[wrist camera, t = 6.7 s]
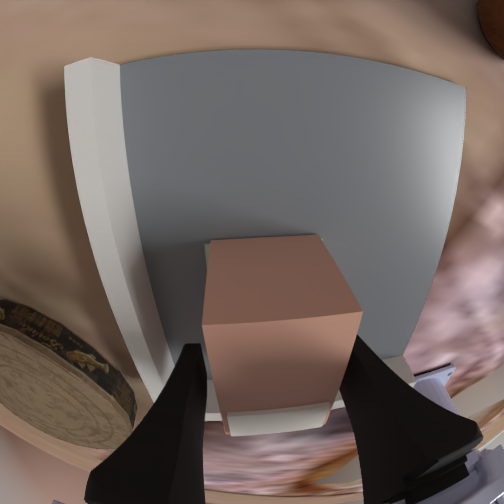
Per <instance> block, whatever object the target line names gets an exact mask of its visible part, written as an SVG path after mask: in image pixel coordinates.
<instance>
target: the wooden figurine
mask: <svg viewBox="0 0 504 504" xmlns="http://www.w3.org/2000/svg"><path fill="white" fill-rule="evenodd" d="M478 12H479V20H480V24H481V28H482V31H483V33H484V35H485V36H486V38H487V40H488V42H489V43H490V45H491V46H492V47H493V49H494V50H495V51H496V53H497V54H498V55H499V56H500V57H501V58H502V59H503V60H504V0H479V1H478Z"/></svg>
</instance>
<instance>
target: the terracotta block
mask: <svg viewBox="0 0 504 504" xmlns="http://www.w3.org/2000/svg"><path fill="white" fill-rule="evenodd" d="M362 314H363V310H362V308H361V306H360V305H359V303H358V301H357V299H356V298H355V296H354V294H353V292H352V290H351V289H350V287H349V285H348V283H347V282H346V280H345V278H344V276H343V275H342V273H341V271H340V270H339V268H338V266H337V265H336V263H335V261H334V259H333V258H332V256H331V254H330V253H329V251H328V249H327V248H326V246H325V245H324V243H323V241H322V240H321V238H320V236H319V235H299V236H279V237H259V238H241V239H223V240H211V242H210V250H209V259H208V268H207V277H206V287H205V296H204V307H203V317H202V329H203V334H204V339H205V344H206V349H207V354H208V359H209V364H210V369H211V374H212V378H213V383H214V387H215V392H216V396H217V401H218V405H219V409H220V413H221V417H222V422H223V426H224V430H225V434H226V435H227V434H231V436H249V435H263V434H274V433H283V432H291V431H299V430H306V429H312V428H318V427H322V425H324V424H326V422H327V419H328V417H329V414H330V412H331V409H332V407H333V404H334V401H335V399H336V396H337V393H338V391H339V388H340V385H341V382H342V379H343V376H344V373H345V370H346V367H347V364H348V361H349V358H350V355H351V352H352V349H353V345H354V342H355V339H356V335H357V332H358V328H359V325H360V321H361V318H362Z"/></svg>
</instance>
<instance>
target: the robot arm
mask: <svg viewBox="0 0 504 504" xmlns="http://www.w3.org/2000/svg"><path fill="white" fill-rule="evenodd" d="M455 369H456V366H455V365H454V364H452V365H449V366H447V367H444V368H441V369H438V370H435V371H432V372H429V373H425V374H422V375H419V376H416V377H415V379H416V381H417V382H416V384H415V385H414V387H411V386H410V385H409V384H407V383H406V382H405V381H404V380H403V379H401V378H400V377H399V376H398V375H397V374H396V373H395V372H394V371H393V370H392V369H390V368H389V367H388V366H387V365H386V364H385V363H384V362H383V361H382V360H381V359H380V358H379V357H378V356H377V355H376V354H375V353H374V351H373V350H372V349H371V348H370V347H369V346H368V345H367V344H366V343H365V342H364V341H363V340H362V339H361V338H360V336H359V335H358V334H357V335H356V339H355V342H354V345H353V349H352V352H351V355H350V358H349V361H348V364H347V367H346V370H345V373H344V376H343V379H342V382H341V385H340V388H339V391H340V393H341V396H342V399H343V402H344V405H345V407H346V410H347V413H348V416H349V419H350V421H351V424H352V428H353V431H354V435H355V440H356V445H357V450H358V455H359V461H360V467H361V475H362V484H363V496H364V504H504V449H503V447H502V445H499V446H498V447H496V448H495V449H494V450H487V449H484V450H482V451H481V452H480V451H479V450H476V449H475V447H476V446H477V445H478V444H479V443H480V442H481V441H482V439H483V435H482V433H481V431H480V429H479V427H478V425H477V423H476V422H475V421H473V420H470V419H467V418H465V417H462V416H460V415H459V413H458V411H457V409H456V408H455V406H454V404H453V402H452V400H451V398H450V396H449V394H448V393H447V391H446V389H445V387H444V385H445V384H446V382H447V381H448V379H449V378H450V377H451V375H452V374H453V372H454V371H455ZM206 403H207V371H206V366H205V362H204V357H203V353H202V348H201V343H186V344H185V345H184V346H183V348H182V351H181V353H180V356H179V358H178V360H177V362H176V365H175V367H174V369H173V371H172V373H171V375H170V377H169V378H168V380H167V382H166V384H165V386H164V388H163V389H162V391H161V393H160V394H159V396H158V398H157V399H156V401H155V403H154V404H153V406H152V407H151V409H150V410H149V411H148V413H147V414H146V416H145V417H144V418H143V420H142V421H141V422H140V424H139V425H138V426H137V427H136V428H135V430H134V431H133V432H132V433H131V434H130V436H129V437H128V438H127V439H126V440H125V441H124V442H123V443H122V444H121V445H120V446H119V447H118V448H117V449H116V450H115V451H114V452H113V453H112V454H111V455H110V456H109V457H108V458H107V459H105V460H104V461H103V462H102V463H100V464H99V465H98V466H97V467H96V468H94V469H93V470H92V471H91V472H90V475H89V478H88V481H87V485H86V491H85V497H84V500H85V502H86V503H88V504H205V493H204V477H203V433H204V423H205V413H206ZM52 504H64V503H61V502H59V501H56V500H53V503H52Z"/></svg>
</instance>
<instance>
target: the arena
mask: <svg viewBox="0 0 504 504" xmlns="http://www.w3.org/2000/svg"><path fill="white" fill-rule="evenodd" d="M64 76H65V99H66V113H67V123H68V133H69V141H70V148H71V155H72V162H73V168H74V174H75V179H76V184H77V190H78V195H79V199H80V204H81V208H82V213H83V217H84V221H85V225H86V229H87V233H88V237H89V240H90V244H91V248H92V251H93V255H94V258H95V261H96V264H97V268H98V271H99V274H100V277H101V280H102V283H103V286H104V289H105V292H106V295H107V298H108V300H109V303H110V306H111V309H112V311H113V314H114V316H115V319H116V322H117V324H118V327H119V329H120V331H121V334H122V336H123V339H124V341H125V343H126V346H127V348H128V350H129V353H130V355H131V357H132V359H133V361H134V364H135V366H136V368H137V370H138V372H139V374H140V376H141V378H142V380H143V382H144V384H145V386H146V388H147V390H148V392H149V394H150V396H151V398H152V400H153V402H154V403H155V401H156V399H157V398H158V396H159V394H160V393H161V391H162V389H163V388H164V386H165V384H166V382H167V380H168V378H169V377H170V375H171V373H172V371H173V369H174V367H175V365H176V362H177V360H178V358H179V356H180V353H181V351H182V348H183V346H184V345H185V344H186V343H201V348H202V353H203V357H204V362H205V366H206V371H207V403H206V413H205V421H222V417H221V413H220V409H219V405H218V401H217V396H216V392H215V387H214V383H213V378H212V374H211V369H210V364H209V359H208V354H207V349H206V344H205V339H204V334H203V329H202V317H203V307H204V296H205V287H206V277H207V268H208V259H209V250H210V242H211V240H223V239H241V238H259V237H279V236H299V235H319V236H320V238H321V240H322V241H323V243H324V245H325V246H326V248H327V249H328V251H329V253H330V254H331V256H332V258H333V259H334V261H335V263H336V265H337V266H338V268H339V270H340V271H341V273H342V275H343V276H344V278H345V280H346V282H347V283H348V285H349V287H350V289H351V290H352V292H353V294H354V296H355V298H356V299H357V301H358V303H359V305H360V306H361V308H362V310H363V314H362V318H361V321H360V325H359V328H358V332H357V334H358V335H359V336H360V338H361V339H362V340H363V341H364V342H365V343H366V344H367V345H368V346H369V347H370V348H371V349H372V350H373V351H374V353H375V354H376V355H377V356H378V357H379V358H380V359H381V360H382V361H383V362H384V363H385V364H386V365H387V366H388V367H389V368H390V369H392V370H393V371H394V372H395V373H396V374H397V375H398V376H399V377H400V378H401V379H403V380H404V381H405V382H406V383H407V384H409V385H410V386H411V387H414V385H415V384H416V382H417V381H416V379H415V377H414V375H413V373H412V371H411V369H410V367H409V366H408V364H407V362H406V360H405V358H404V356H403V353H404V351H405V349H406V347H407V345H408V342H409V340H410V338H411V336H412V333H413V331H414V329H415V326H416V324H417V322H418V319H419V317H420V314H421V312H422V309H423V306H424V304H425V301H426V299H427V296H428V293H429V290H430V287H431V284H432V282H433V279H434V276H435V273H436V269H437V266H438V263H439V260H440V256H441V253H442V249H443V246H444V242H445V239H446V235H447V231H448V227H449V223H450V218H451V214H452V209H453V205H454V200H455V195H456V189H457V184H458V178H459V171H460V165H461V157H462V149H463V139H464V128H465V112H466V88H465V87H463V86H460V85H457V84H455V83H452V82H449V81H446V80H443V79H440V78H437V77H434V76H431V75H428V74H424V73H421V72H418V71H414V70H410V69H407V68H403V67H399V66H395V65H391V64H386V63H382V62H377V61H372V60H367V59H361V58H355V57H349V56H343V55H335V54H327V53H318V52H308V51H295V50H272V49H239V50H217V51H204V52H193V53H184V54H176V55H169V56H162V57H156V58H150V59H145V60H140V61H135V62H130V63H125V64H121V65H119V64H115V63H112V62H108V61H104V60H100V59H97V58H93V57H90V58H87V59H84V60H81V61H78V62H75V63H72V64H69V65H66V66H64ZM342 407H345V405H344V402H343V399H342V396H341V393H340V391H338V393H337V396H336V399H335V401H334V404H333V407H332V409H337V408H342ZM332 409H331V410H332Z"/></svg>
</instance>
